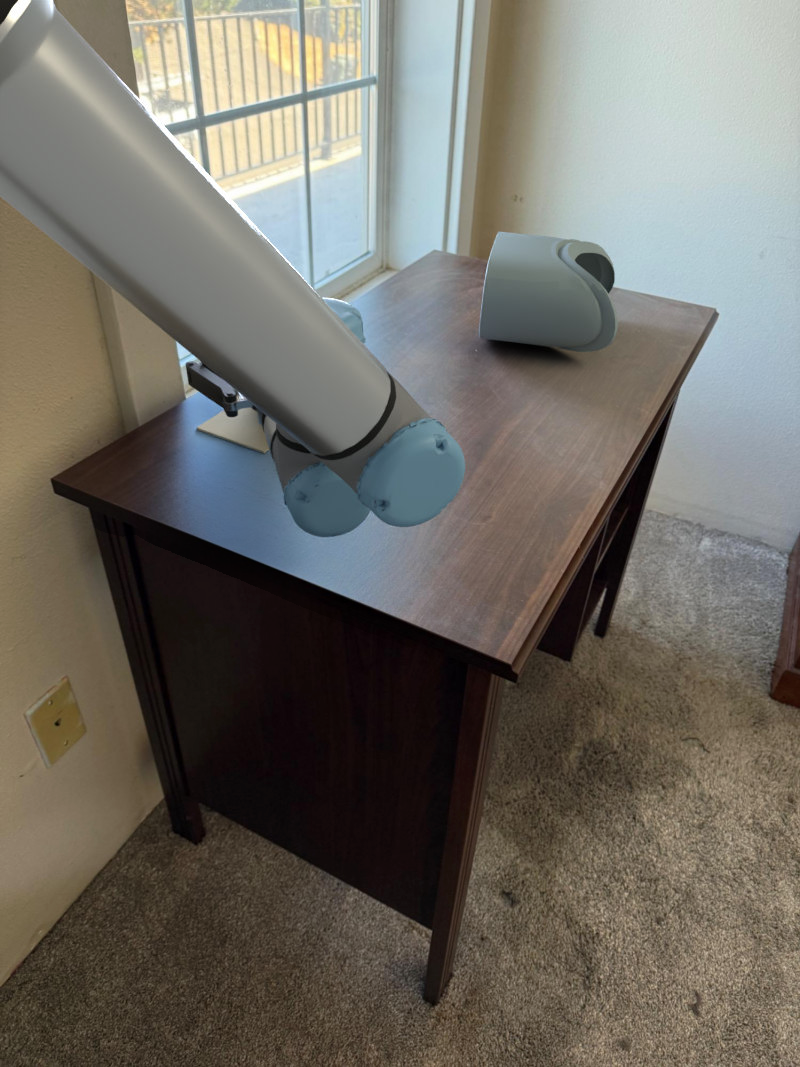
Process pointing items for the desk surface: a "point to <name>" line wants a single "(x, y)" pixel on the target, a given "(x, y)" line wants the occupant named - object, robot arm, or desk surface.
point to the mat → (238, 429)
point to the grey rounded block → (548, 293)
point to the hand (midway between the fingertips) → (266, 337)
